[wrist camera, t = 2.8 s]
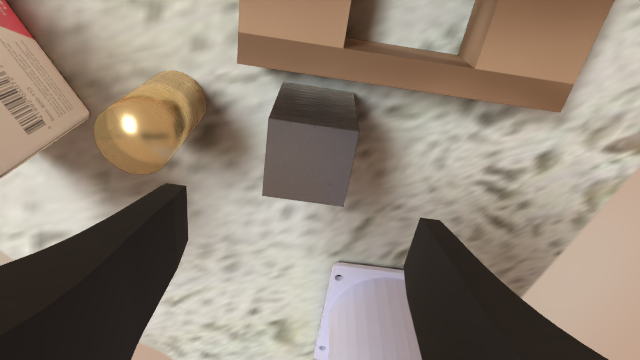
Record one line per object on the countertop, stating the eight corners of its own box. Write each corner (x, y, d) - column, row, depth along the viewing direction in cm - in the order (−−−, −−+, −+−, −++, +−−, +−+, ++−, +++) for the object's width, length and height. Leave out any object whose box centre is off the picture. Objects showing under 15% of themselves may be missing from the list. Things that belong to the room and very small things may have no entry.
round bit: (206, 131, 20) (172, 179, 16) (149, 123, 20) (99, 169, 16) (206, 75, 19) (169, 111, 15) (144, 66, 19) (87, 99, 14)
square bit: (341, 155, 21) (343, 206, 17) (276, 145, 21) (262, 195, 16) (353, 92, 19) (359, 132, 15) (283, 81, 19) (268, 118, 15)
